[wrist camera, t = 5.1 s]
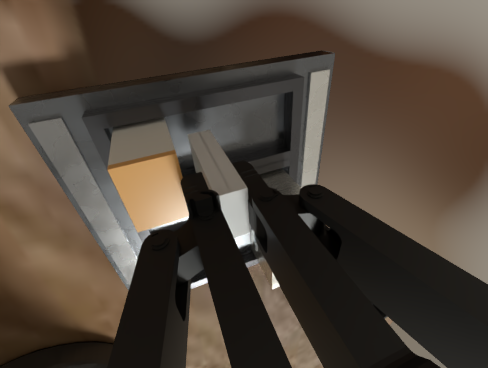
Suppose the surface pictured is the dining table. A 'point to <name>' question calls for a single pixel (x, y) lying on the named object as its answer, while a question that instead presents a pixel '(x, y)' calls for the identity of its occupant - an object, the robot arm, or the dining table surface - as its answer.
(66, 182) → the panel
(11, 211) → the dining table surface
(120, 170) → the block
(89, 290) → the dining table surface
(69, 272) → the dining table surface
